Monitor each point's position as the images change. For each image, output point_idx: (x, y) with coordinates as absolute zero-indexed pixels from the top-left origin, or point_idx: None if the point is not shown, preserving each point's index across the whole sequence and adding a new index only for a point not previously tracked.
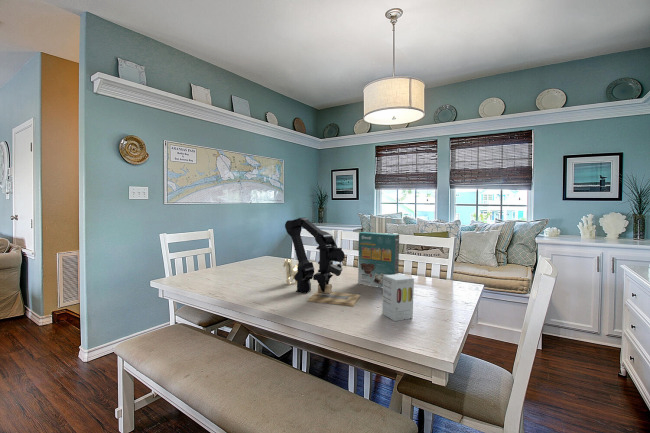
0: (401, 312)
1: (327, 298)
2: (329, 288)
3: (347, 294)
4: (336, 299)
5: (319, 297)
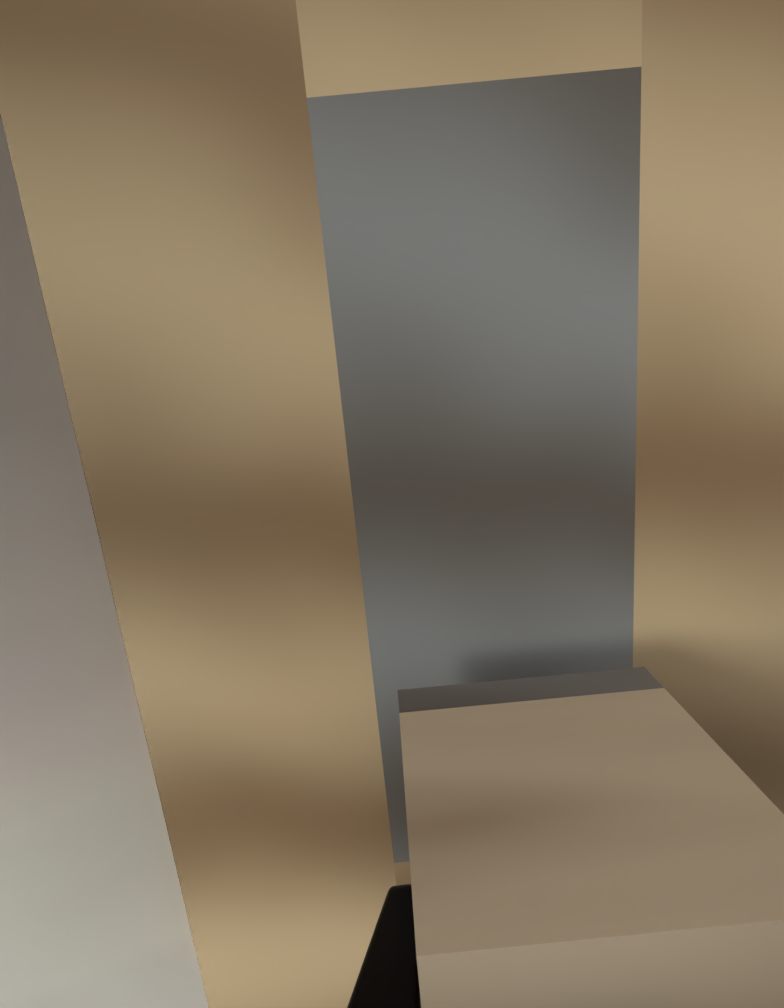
0: None
1: (704, 634)
2: (779, 813)
3: (128, 245)
4: (721, 393)
5: None
